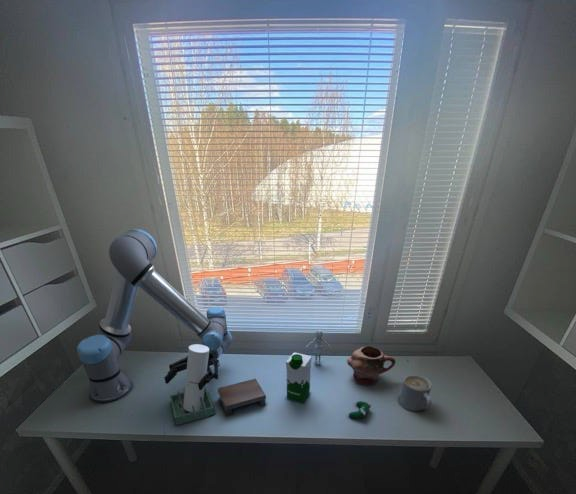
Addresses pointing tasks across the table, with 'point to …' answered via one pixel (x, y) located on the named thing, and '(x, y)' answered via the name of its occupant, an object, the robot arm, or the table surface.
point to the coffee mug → (416, 393)
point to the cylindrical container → (195, 376)
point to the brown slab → (241, 395)
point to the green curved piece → (361, 410)
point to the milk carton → (298, 376)
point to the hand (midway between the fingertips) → (182, 383)
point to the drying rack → (183, 418)
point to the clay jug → (368, 364)
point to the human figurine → (318, 345)
